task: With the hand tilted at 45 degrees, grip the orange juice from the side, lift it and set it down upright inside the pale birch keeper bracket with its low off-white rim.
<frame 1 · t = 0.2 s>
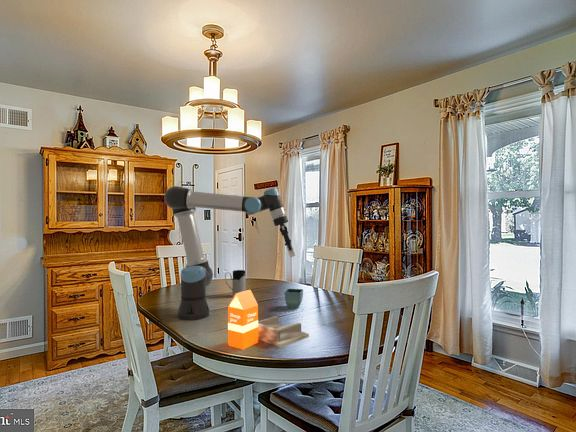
hand: (292, 255, 184), 28 cm above the table, tool tilted 20°, fingers open, 13 cm apart
flower pot: (294, 307, 185), on the table
orange juice: (243, 344, 133), on the table
keeper bracket: (277, 335, 142), on the table
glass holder: (235, 295, 213), on the table
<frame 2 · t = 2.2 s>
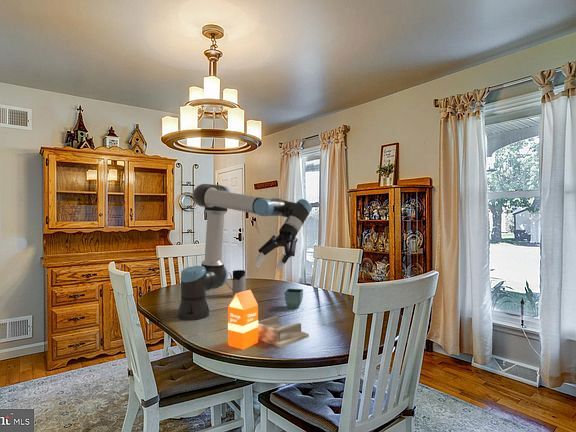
hand: (266, 267, 142), 28 cm above the table, tool tilted 45°, fingers open, 13 cm apart
nothing on the table moved.
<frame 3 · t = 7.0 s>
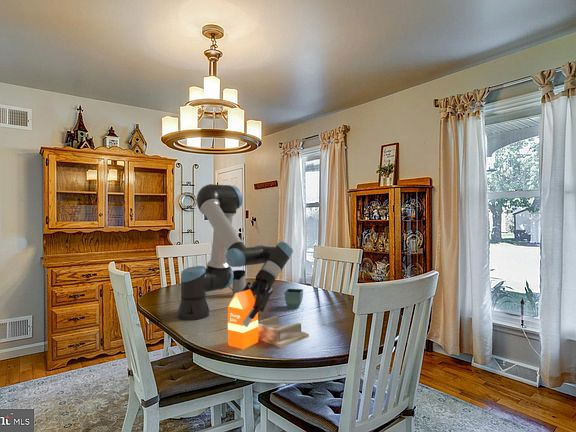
hand: (236, 322, 131), 9 cm above the table, tool tilted 45°, fingers closed on orange juice, 9 cm apart
orange juice: (243, 344, 133), on the table, touching gripper
everything else where it was.
when the fingers open (11 cm above the table, at t = 13.2 s): orange juice drops 1 cm, resting on keeper bracket.
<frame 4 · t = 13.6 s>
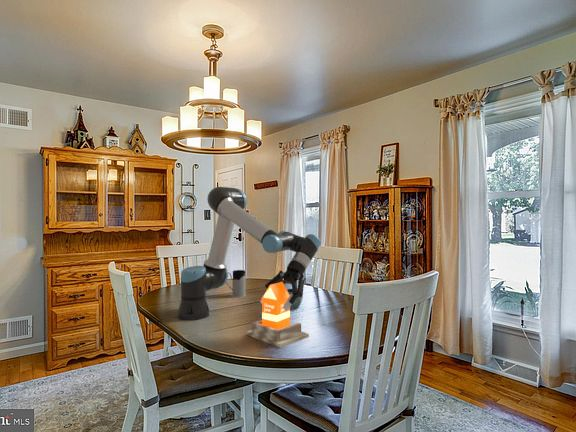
hand: (272, 306, 140), 12 cm above the table, tool tilted 45°, fingers open, 13 cm apart
orange juice: (276, 332, 142), point 1 cm above the table, touching keeper bracket
everything else where it was.
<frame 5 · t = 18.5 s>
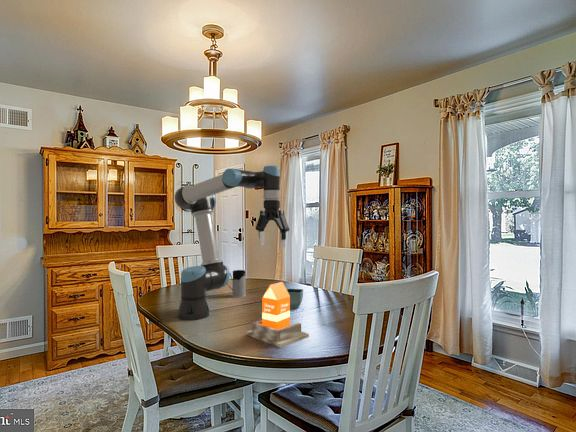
hand: (271, 246, 160), 35 cm above the table, tool pointing down, fingers open, 13 cm apart
nothing on the table moved.
at the end: orange juice 0.7 cm off-centre on the keeper bracket, point 1.0 cm above the keeper bracket's base; orange juice tilted 0°; the gripper is holding nothing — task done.
